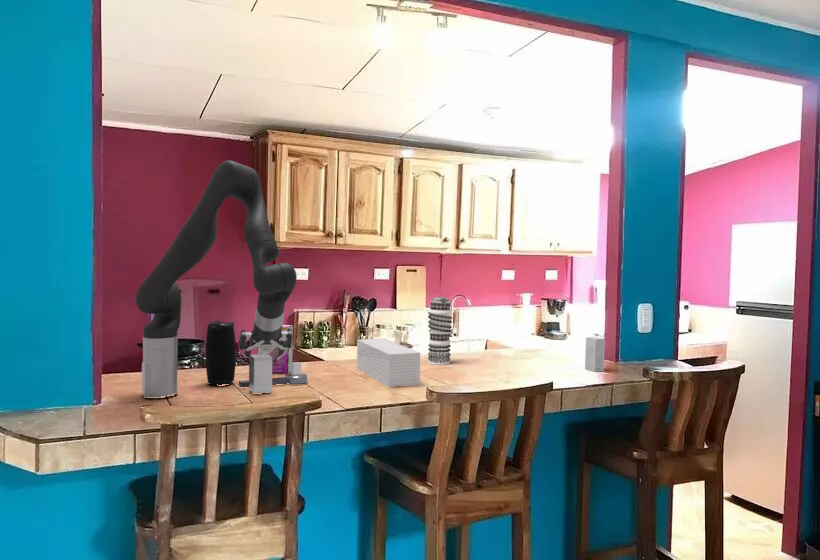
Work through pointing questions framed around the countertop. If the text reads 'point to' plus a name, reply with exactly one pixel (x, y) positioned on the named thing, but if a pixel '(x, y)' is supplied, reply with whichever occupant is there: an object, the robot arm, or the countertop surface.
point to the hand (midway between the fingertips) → (263, 354)
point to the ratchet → (286, 377)
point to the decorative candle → (439, 331)
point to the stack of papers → (388, 362)
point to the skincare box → (594, 354)
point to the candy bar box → (285, 361)
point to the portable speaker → (220, 352)
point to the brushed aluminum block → (260, 373)
